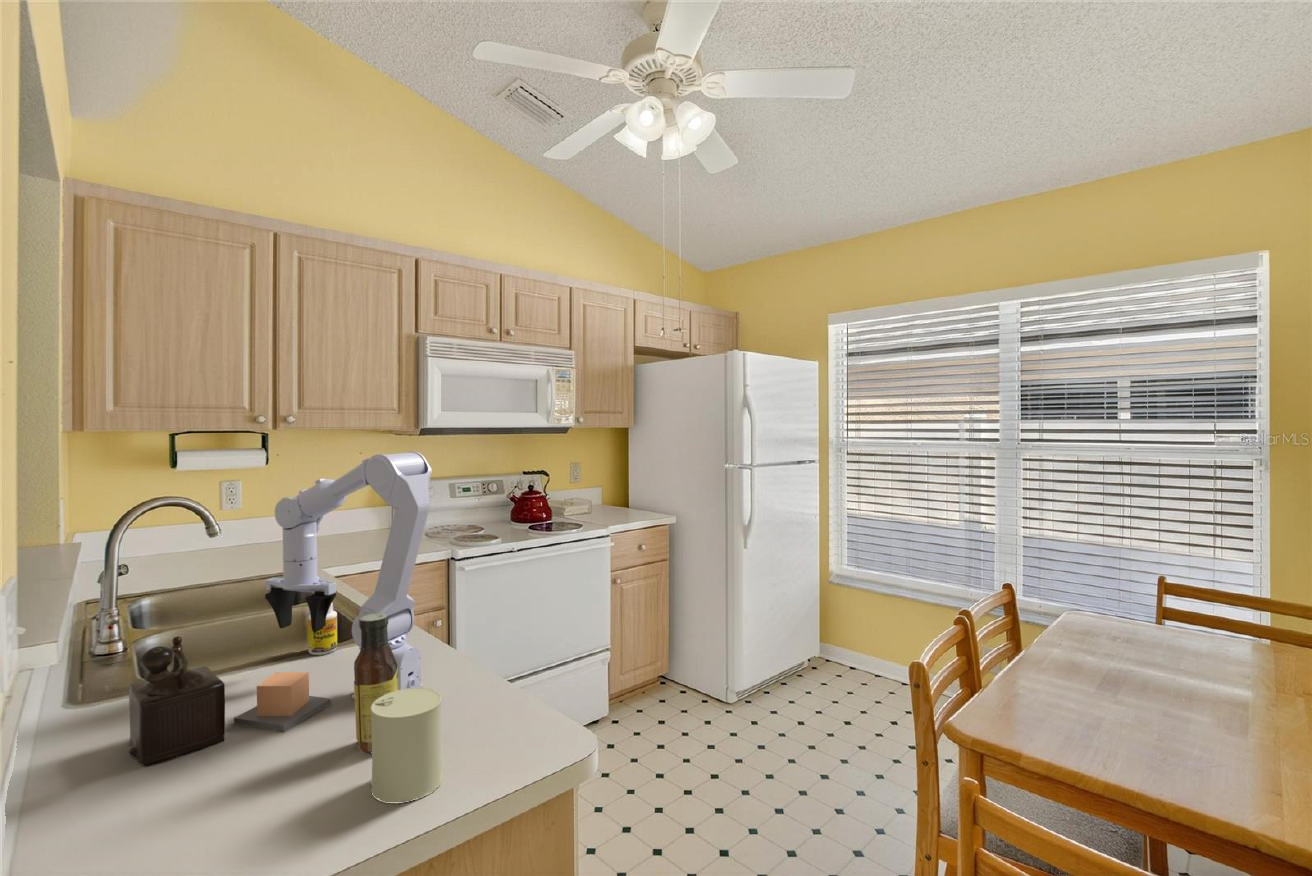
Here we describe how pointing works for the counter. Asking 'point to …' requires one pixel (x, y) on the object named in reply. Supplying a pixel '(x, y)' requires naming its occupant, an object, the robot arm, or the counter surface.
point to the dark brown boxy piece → (174, 707)
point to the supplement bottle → (323, 635)
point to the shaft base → (282, 721)
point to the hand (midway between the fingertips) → (301, 628)
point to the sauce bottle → (372, 674)
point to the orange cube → (282, 694)
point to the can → (406, 744)
